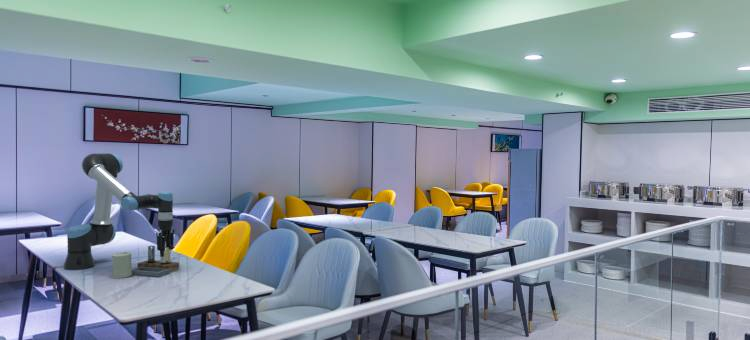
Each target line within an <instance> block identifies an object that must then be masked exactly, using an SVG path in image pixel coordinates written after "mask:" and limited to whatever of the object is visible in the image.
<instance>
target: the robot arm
mask: <svg viewBox="0 0 750 340" xmlns="http://www.w3.org/2000/svg"><path fill="white" fill-rule="evenodd" d="M81 167H82V170H83V173H84V174H85V175H86V176H87V177H88V178H90V180H91V179H92V180H95V181H96V192H95V201H94V211H93V219H91V220H90V221H89V223H88V224H87V223H86V224H85V223H83V224H76V225H73V226H70V227H69V228H68V230H67V235H66V237H67V255H66V257H65V262H64V263H63V269H65V270H85V269H91V268H94V267H95V260H94V258H93V257H94V256H93V253H92V247H94V246H95V247H96V246H100V245H101V246H102V245H106V244H109V243H111V242H113V240H114V239H115V238H116V235H117V231H116V227H115V226H114V224H113V221H112V220H111V211H112V204H113V203H112V201H113V196H114V197H115V199H117V200H118V201H119V202H120V206H121V208H122V210H124V211H126V212H128V211H129V212H132V211H138V210H139V211H140V210H146V209H147V210H148V209H157V219H158V221H157V227H159V231H158V232H156V233H155V235H156V250H157V251H159V256H160V258H159V259H160V260H159V261H160V262H163V263H165V256H166V251H164V250H165V247H169V262H171V254H172V253H171V250H173V248H174V241H175V240H174V238H175V236H174V235H175V232H176V230H175V229H172V227H173V225H174V220H173V219H174V218H173V217H174V215H173V213H174V211H173V209H174V195H173V192H172V191H159V192H158V194H151V193H148V194H147V193H146V194H143V195H142V194H141V195H136V194H135V193H134V192H133V191H131V190H130V189H129V188H128V187H127V186H125V184H123V183H122V182H121V181H120V180H118V174H119V173H121V172H122V171H123V168H124V163H123V160H122V158H121V157H120V155H118V154H116V153H90V154H88V155H86V156H85V157H84V158H83V160H82V162H81Z"/></svg>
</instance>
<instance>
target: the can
mask: <svg viewBox="0 0 750 340" xmlns="http://www.w3.org/2000/svg"><path fill="white" fill-rule="evenodd" d="M111 258H112V259H111V260H112V273H113V274H112V277H113V278H114V279H124V278H129V277H131V276H133V275H132V269H133V268H132V253H131V252H128V251H127V252H126V251H125V252H124V251H123V252H117V253H114V254H112V255H111Z"/></svg>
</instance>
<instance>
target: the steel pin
mask: <svg viewBox="0 0 750 340" xmlns="http://www.w3.org/2000/svg"><path fill="white" fill-rule="evenodd" d="M147 260H148V263H155V261H156V245H148V246H147Z"/></svg>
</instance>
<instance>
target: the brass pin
mask: <svg viewBox="0 0 750 340" xmlns="http://www.w3.org/2000/svg"><path fill="white" fill-rule="evenodd" d="M164 251H166V256H165V263H163V262H162V264H164V265H167V264H169V262H170V261H169V247H166V246H165V250H164Z"/></svg>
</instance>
